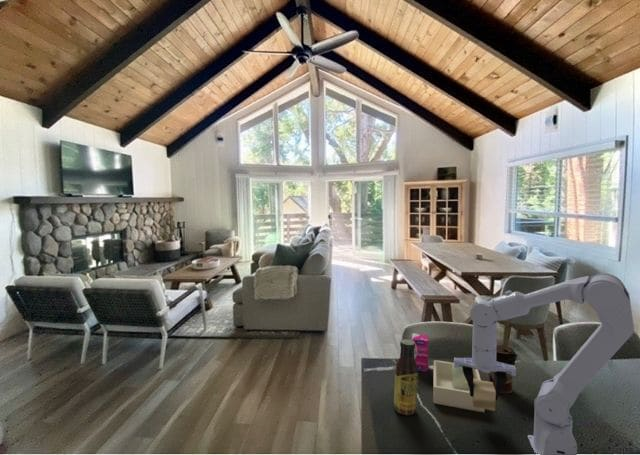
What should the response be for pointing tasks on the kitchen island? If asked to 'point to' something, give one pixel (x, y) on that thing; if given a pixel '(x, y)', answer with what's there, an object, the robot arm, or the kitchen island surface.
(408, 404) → the sauce bottle
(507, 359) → the coffee cup
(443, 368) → the box
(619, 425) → the kitchen island surface
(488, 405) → the oak cube
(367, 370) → the kitchen island surface
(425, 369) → the supplement box
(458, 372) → the sage cylinder
